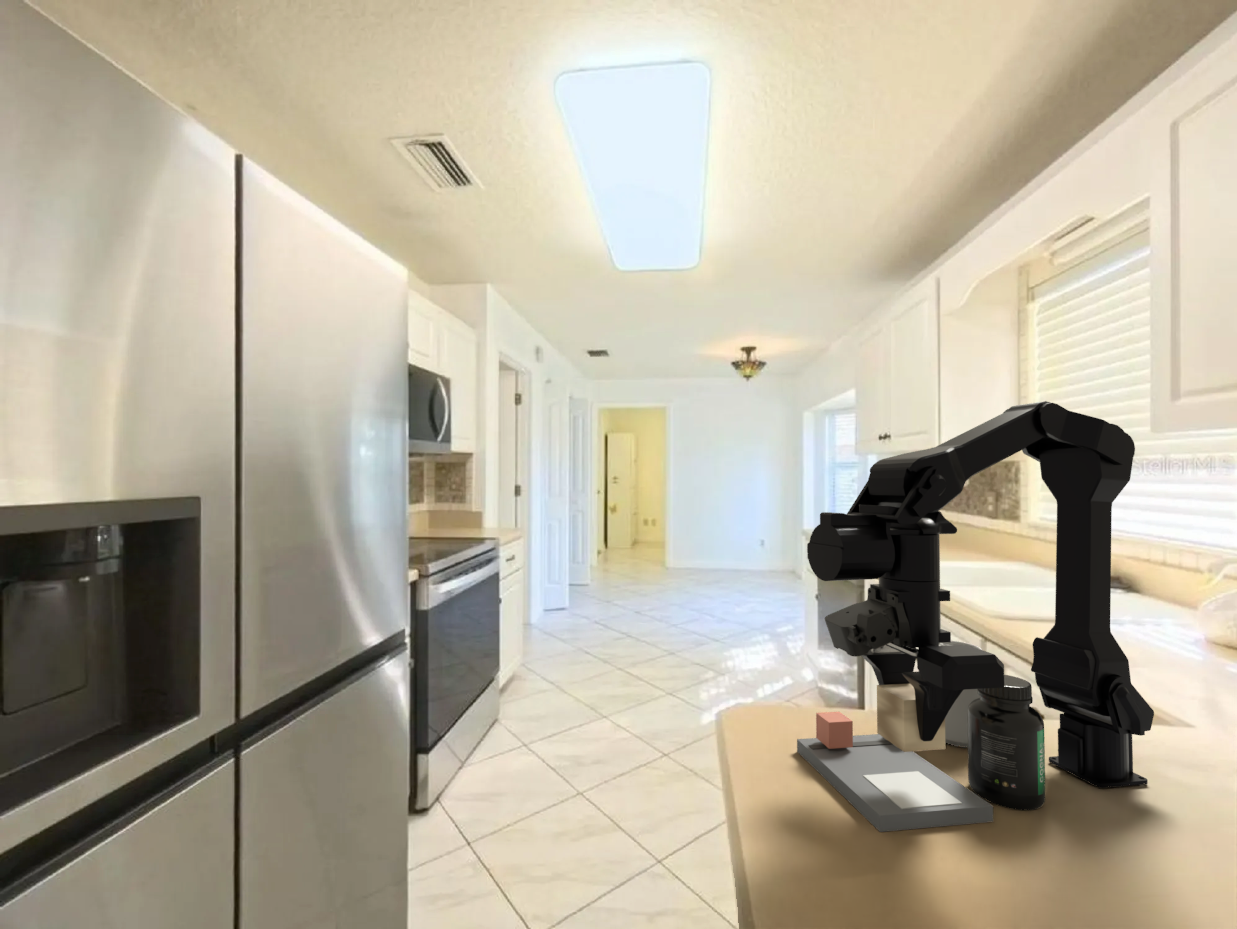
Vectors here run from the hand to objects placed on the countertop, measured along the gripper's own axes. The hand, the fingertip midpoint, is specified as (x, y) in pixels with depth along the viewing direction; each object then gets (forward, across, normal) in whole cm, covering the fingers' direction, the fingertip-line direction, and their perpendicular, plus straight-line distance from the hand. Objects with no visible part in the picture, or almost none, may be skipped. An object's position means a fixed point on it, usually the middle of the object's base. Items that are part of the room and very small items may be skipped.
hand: (910, 730), depth 61 cm
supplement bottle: (+8, 0, +11) cm, 14 cm away
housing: (+1, 0, 0) cm, 1 cm away
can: (+8, -14, +16) cm, 23 cm away
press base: (+7, -4, 0) cm, 9 cm away
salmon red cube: (+5, -11, -3) cm, 12 cm away
